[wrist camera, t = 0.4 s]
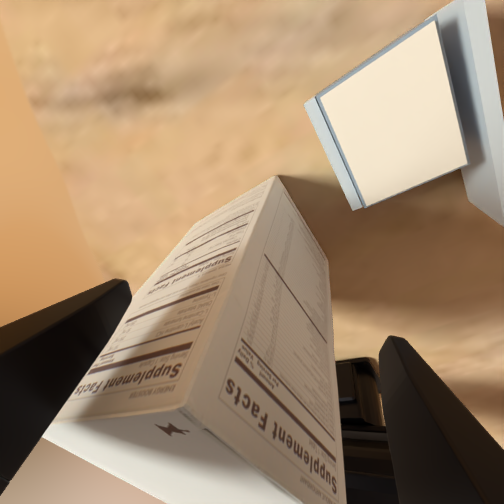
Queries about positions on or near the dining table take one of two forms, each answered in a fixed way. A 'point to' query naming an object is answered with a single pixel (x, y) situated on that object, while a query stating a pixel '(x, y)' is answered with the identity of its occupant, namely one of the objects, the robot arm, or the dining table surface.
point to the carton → (392, 119)
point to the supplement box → (221, 368)
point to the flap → (476, 101)
